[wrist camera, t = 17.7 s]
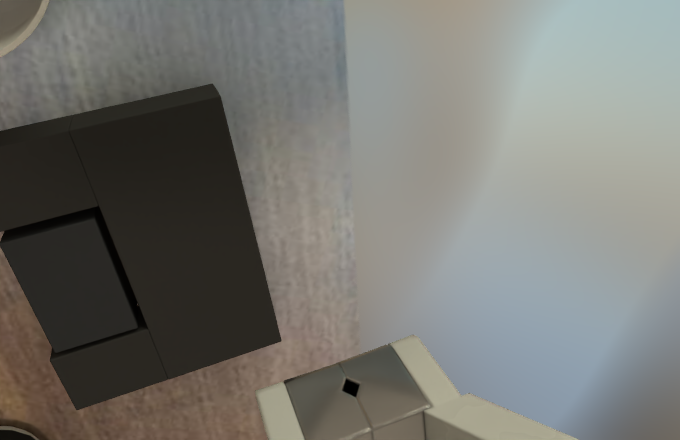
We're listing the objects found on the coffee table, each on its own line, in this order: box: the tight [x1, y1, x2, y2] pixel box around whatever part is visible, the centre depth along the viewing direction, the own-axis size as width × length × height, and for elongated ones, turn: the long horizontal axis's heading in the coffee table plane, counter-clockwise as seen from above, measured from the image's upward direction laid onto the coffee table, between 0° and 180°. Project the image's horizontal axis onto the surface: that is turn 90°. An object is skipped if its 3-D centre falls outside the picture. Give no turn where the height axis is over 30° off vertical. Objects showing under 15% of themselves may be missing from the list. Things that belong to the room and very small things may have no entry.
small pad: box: [0, 206, 138, 353], centre depth 34 cm, size 8×5×3 cm, turn 8°
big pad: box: [0, 84, 281, 410], centre depth 35 cm, size 18×14×3 cm
